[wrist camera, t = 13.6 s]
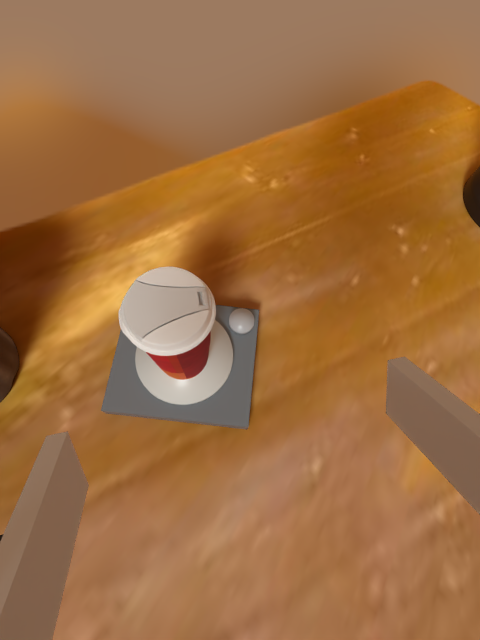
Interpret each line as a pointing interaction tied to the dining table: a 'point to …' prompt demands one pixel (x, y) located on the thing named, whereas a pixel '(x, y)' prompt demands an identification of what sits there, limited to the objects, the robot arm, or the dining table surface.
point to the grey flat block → (195, 393)
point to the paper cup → (170, 319)
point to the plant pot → (7, 363)
